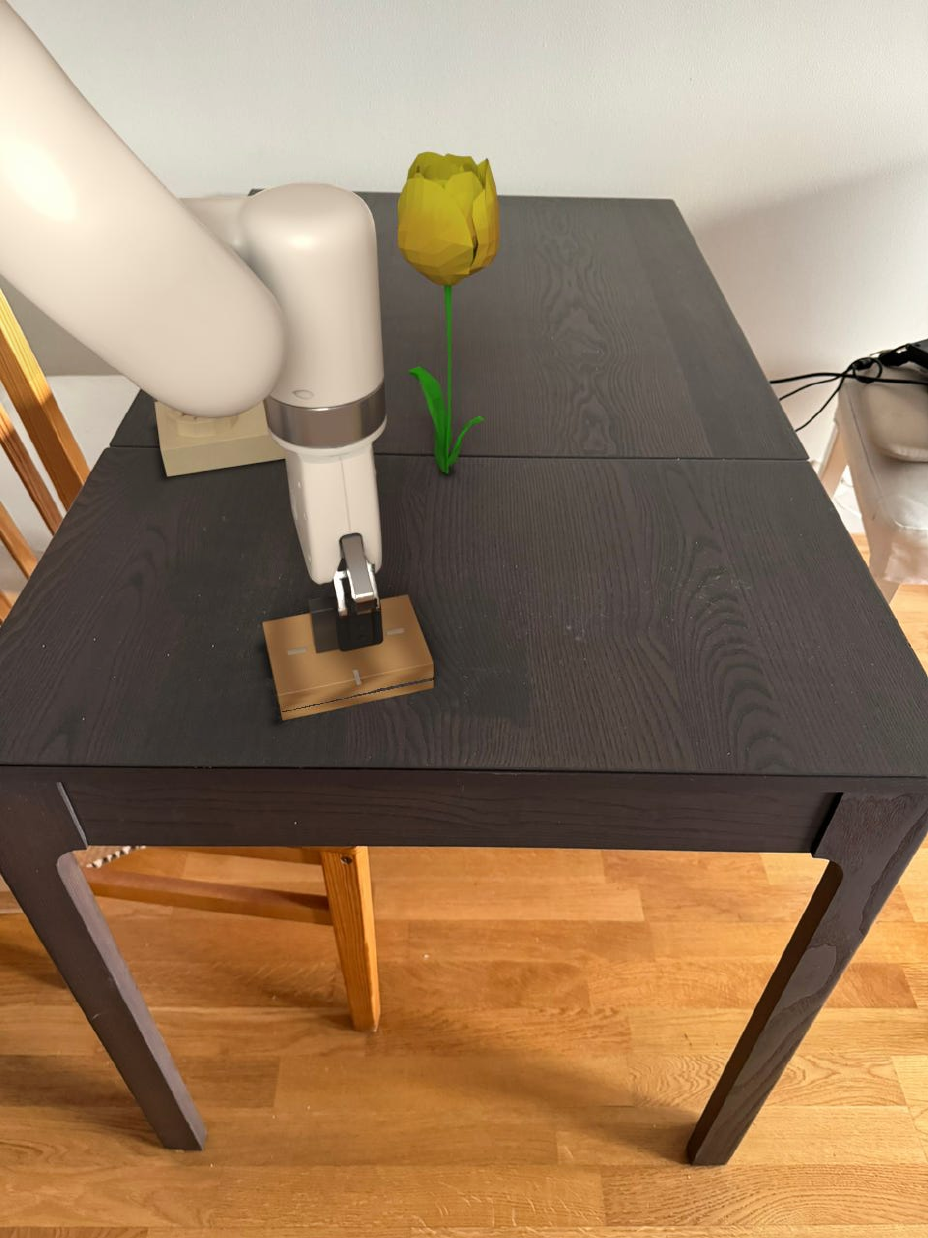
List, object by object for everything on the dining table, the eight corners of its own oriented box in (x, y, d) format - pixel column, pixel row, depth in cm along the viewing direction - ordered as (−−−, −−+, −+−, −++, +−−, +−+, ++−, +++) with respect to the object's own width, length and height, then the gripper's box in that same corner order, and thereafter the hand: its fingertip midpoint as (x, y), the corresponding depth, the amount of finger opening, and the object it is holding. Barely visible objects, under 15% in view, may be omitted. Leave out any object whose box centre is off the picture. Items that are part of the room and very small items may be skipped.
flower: (491, 452, 97) (507, 144, 75) (484, 499, 91) (499, 180, 70) (409, 445, 97) (402, 137, 76) (397, 492, 91) (385, 173, 70)
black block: (316, 654, 72) (310, 610, 68) (313, 641, 73) (307, 597, 69) (379, 641, 73) (377, 597, 69) (375, 629, 74) (372, 585, 70)
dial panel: (283, 727, 70) (278, 700, 68) (265, 642, 77) (260, 615, 74) (436, 694, 73) (436, 667, 71) (406, 615, 79) (405, 587, 77)
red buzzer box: (167, 476, 92) (156, 434, 89) (160, 427, 98) (150, 386, 95) (287, 458, 95) (281, 416, 91) (273, 412, 101) (268, 370, 98)
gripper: (245, 343, 63) (278, 537, 75) (287, 494, 51) (319, 695, 63) (354, 328, 64) (369, 520, 76) (419, 471, 53) (425, 672, 65)
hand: (346, 599), depth 70 cm, fingers open, 9 cm apart
